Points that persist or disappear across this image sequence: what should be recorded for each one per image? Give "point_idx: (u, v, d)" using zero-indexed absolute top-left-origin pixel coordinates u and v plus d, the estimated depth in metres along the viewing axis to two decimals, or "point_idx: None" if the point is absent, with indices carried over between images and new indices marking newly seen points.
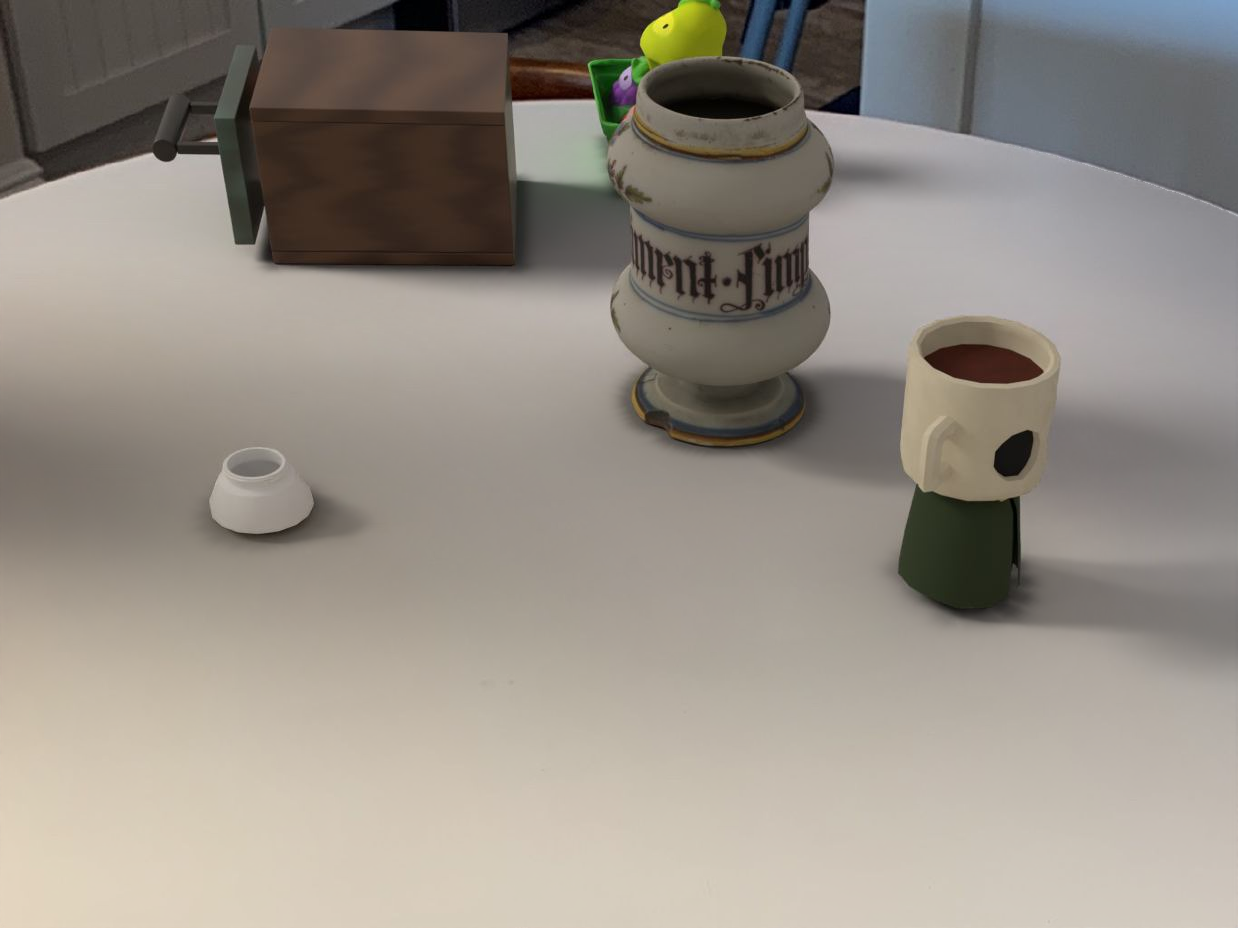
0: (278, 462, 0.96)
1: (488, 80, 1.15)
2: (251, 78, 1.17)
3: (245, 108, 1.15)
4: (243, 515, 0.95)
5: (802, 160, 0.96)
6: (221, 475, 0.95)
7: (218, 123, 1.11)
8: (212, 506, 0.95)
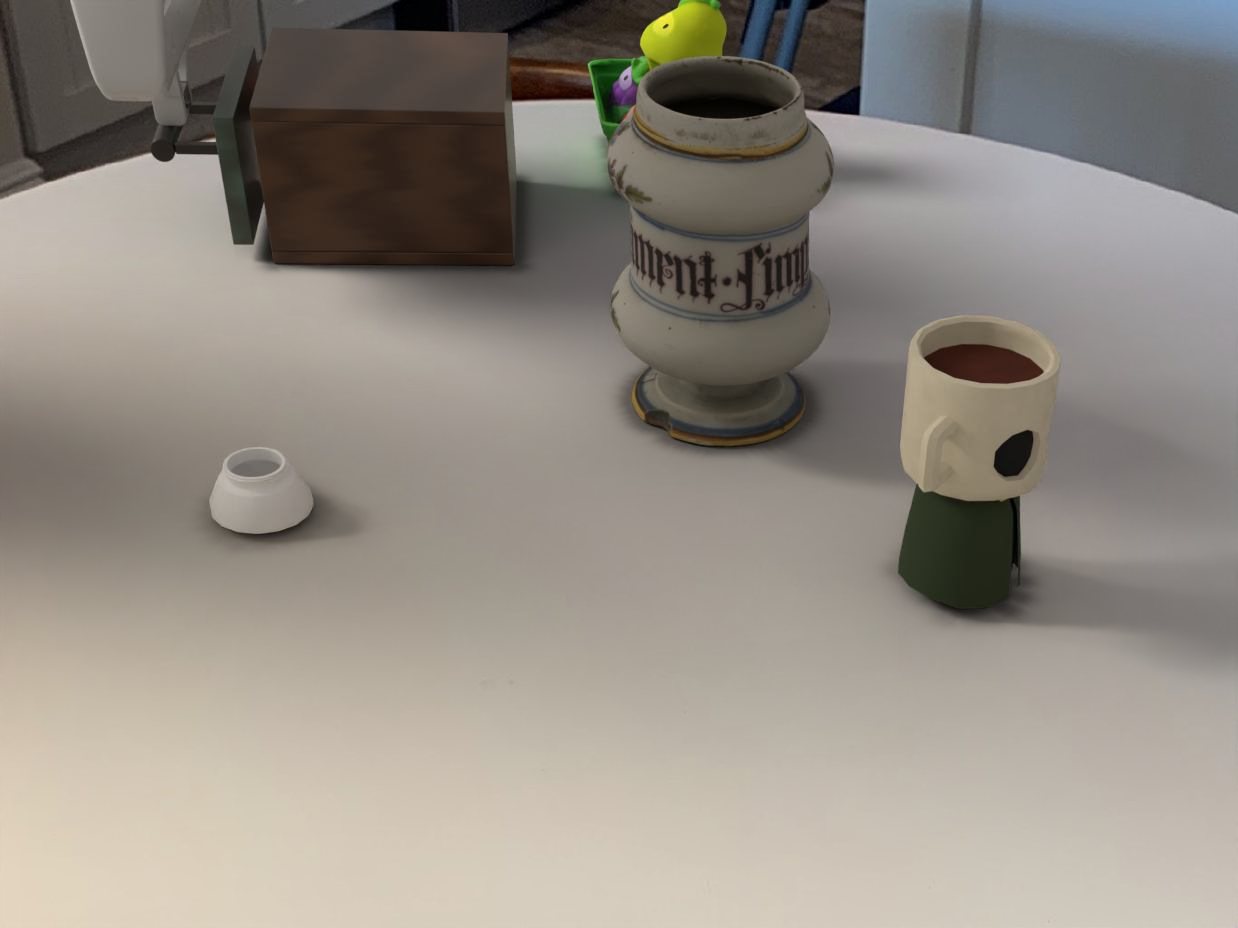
0: (278, 462, 0.96)
1: (488, 80, 1.15)
2: (249, 78, 1.17)
3: (243, 108, 1.15)
4: (243, 515, 0.95)
5: (802, 160, 0.96)
6: (221, 475, 0.95)
7: (216, 123, 1.11)
8: (212, 506, 0.95)
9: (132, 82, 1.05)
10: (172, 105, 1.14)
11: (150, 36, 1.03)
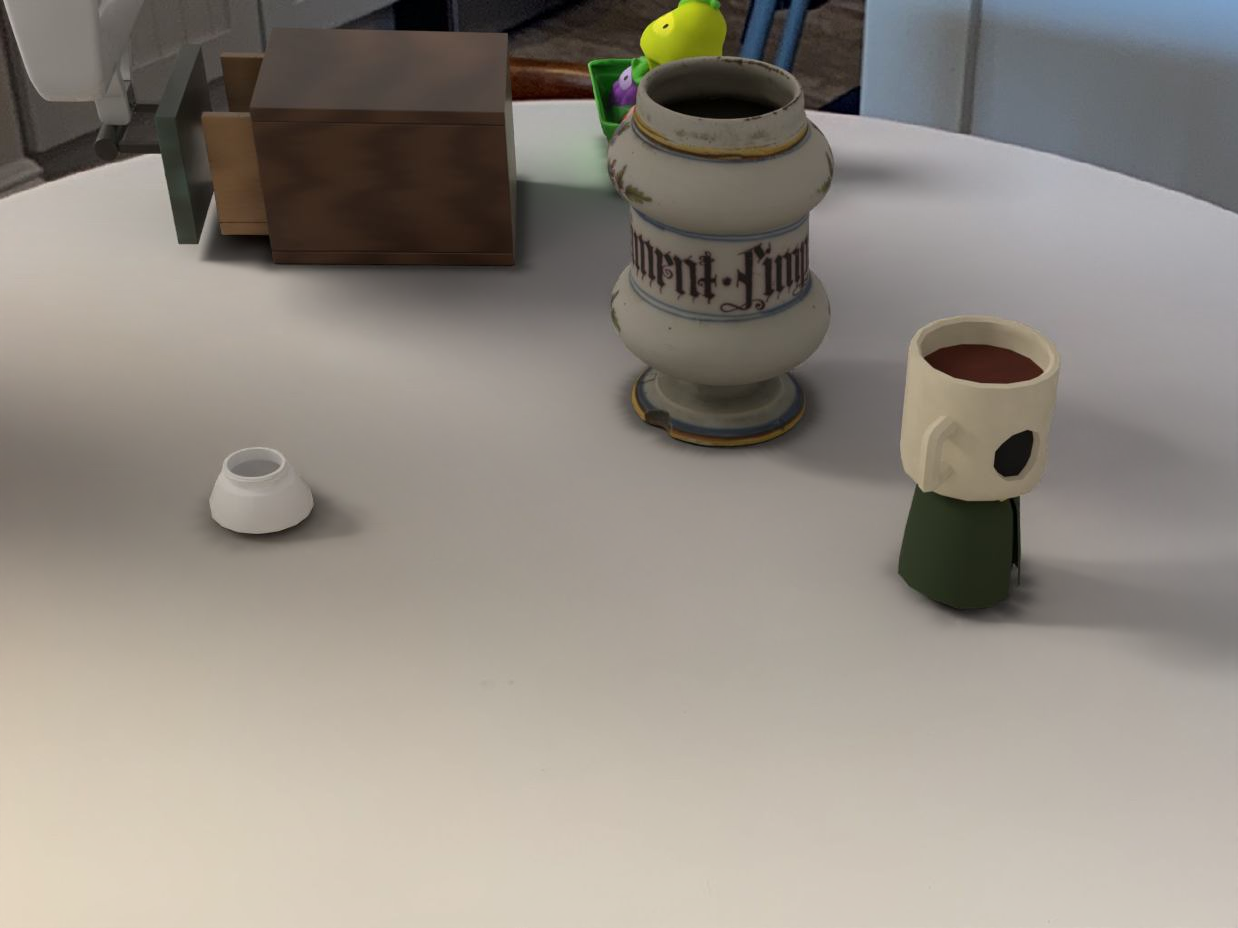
0: (278, 462, 0.96)
1: (488, 80, 1.15)
2: (195, 77, 1.17)
3: (187, 107, 1.14)
4: (243, 515, 0.95)
5: (802, 160, 0.96)
6: (221, 475, 0.95)
7: (158, 122, 1.11)
8: (212, 506, 0.95)
9: (69, 82, 1.04)
10: (115, 104, 1.14)
11: (85, 36, 1.03)
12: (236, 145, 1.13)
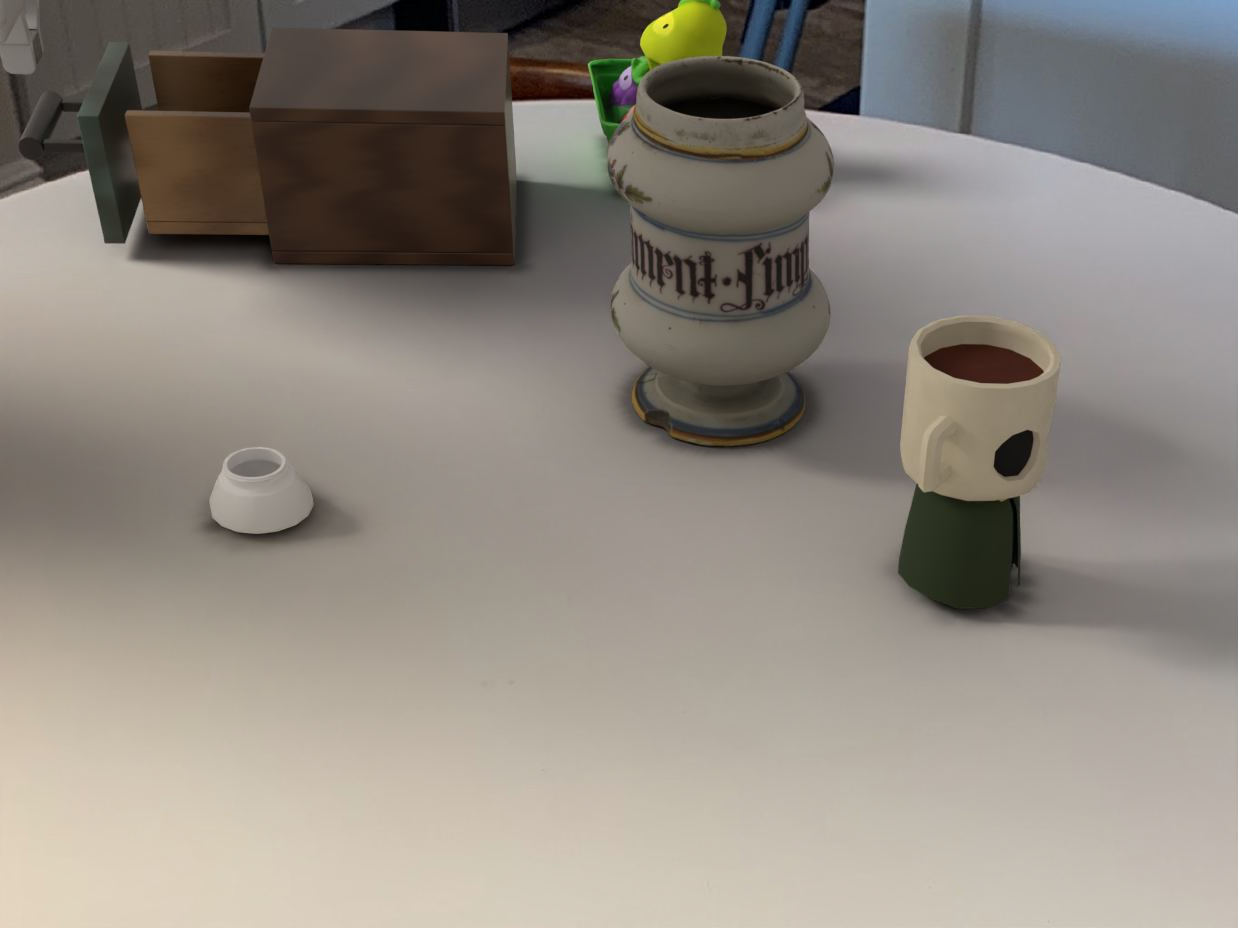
0: (278, 462, 0.96)
1: (488, 80, 1.15)
2: (122, 75, 1.16)
3: (113, 106, 1.14)
4: (243, 515, 0.95)
5: (802, 160, 0.96)
6: (221, 475, 0.95)
7: (81, 121, 1.10)
8: (212, 506, 0.95)
9: None
10: (20, 53, 1.11)
11: None
12: (161, 144, 1.12)
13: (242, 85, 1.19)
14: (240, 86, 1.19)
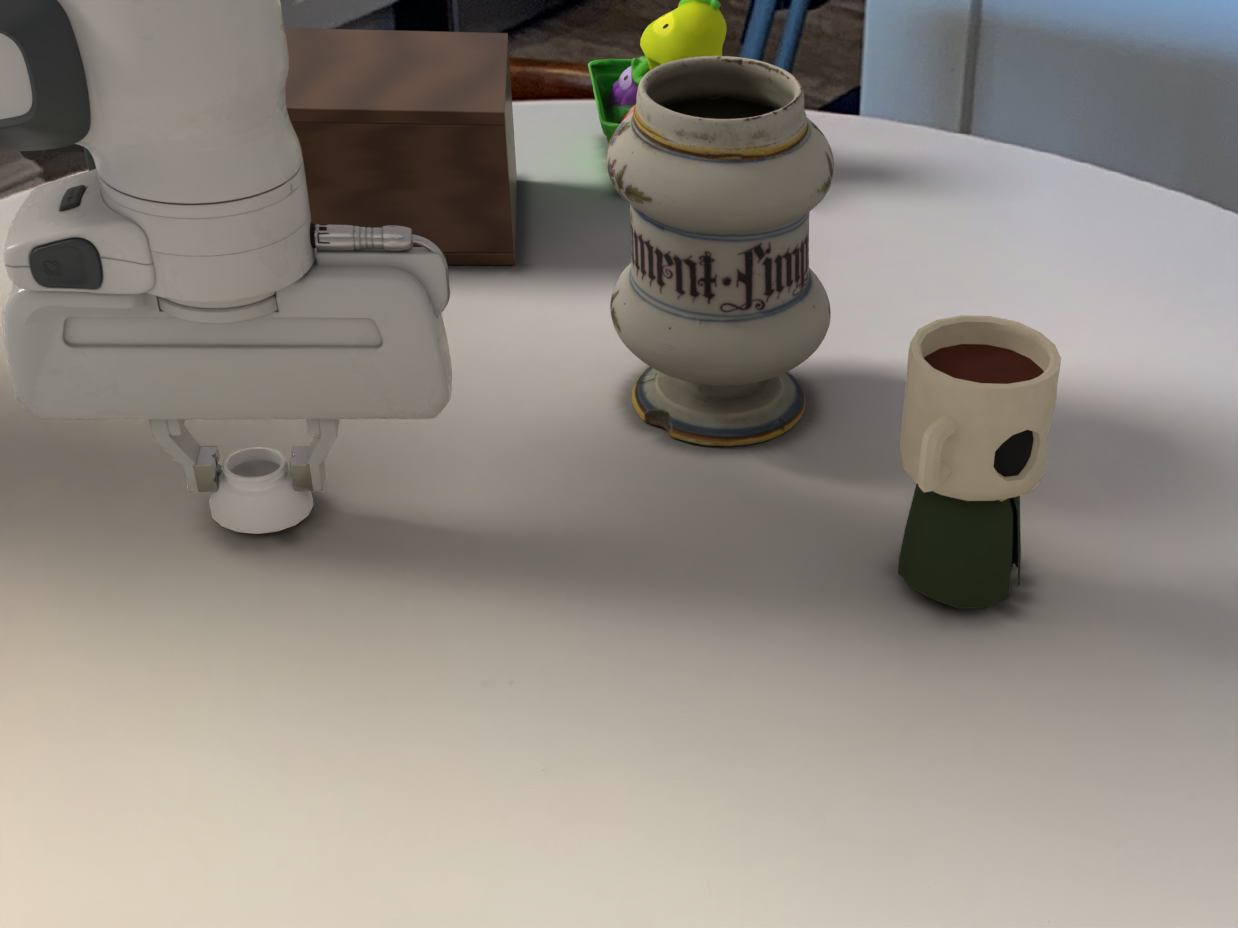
0: (278, 462, 0.96)
1: (488, 80, 1.15)
2: None
3: None
4: (243, 515, 0.95)
5: (802, 160, 0.96)
6: (221, 475, 0.95)
7: None
8: (212, 506, 0.95)
9: None
10: None
11: None
12: None
13: None
14: None
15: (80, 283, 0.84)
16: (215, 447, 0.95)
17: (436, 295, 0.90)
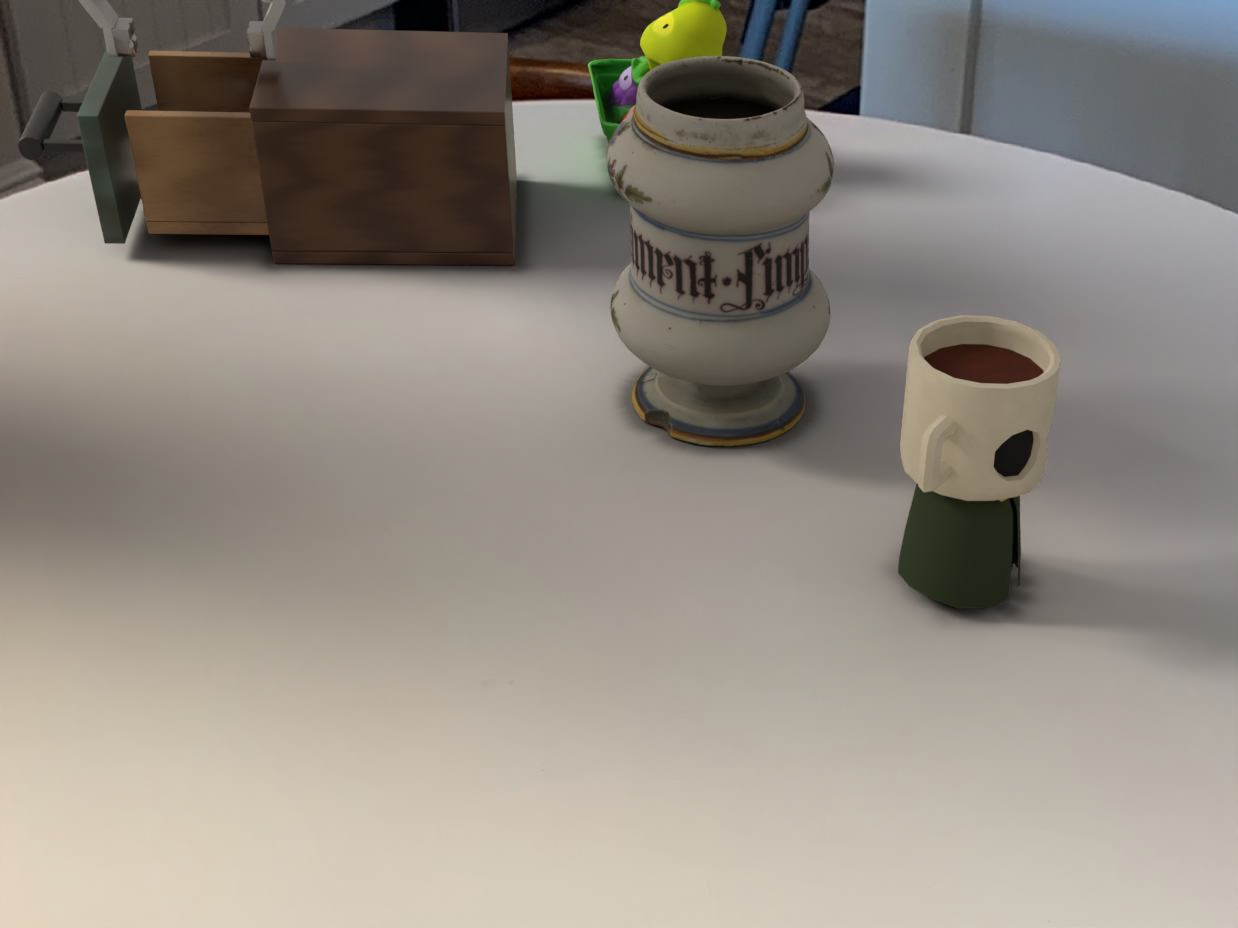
0: None
1: (488, 80, 1.15)
2: (121, 75, 1.16)
3: (113, 106, 1.14)
4: None
5: (802, 160, 0.96)
6: None
7: (81, 121, 1.10)
8: None
9: None
10: None
11: None
12: (160, 144, 1.12)
13: (242, 85, 1.19)
14: (240, 86, 1.19)
15: None
16: (131, 18, 1.13)
17: None
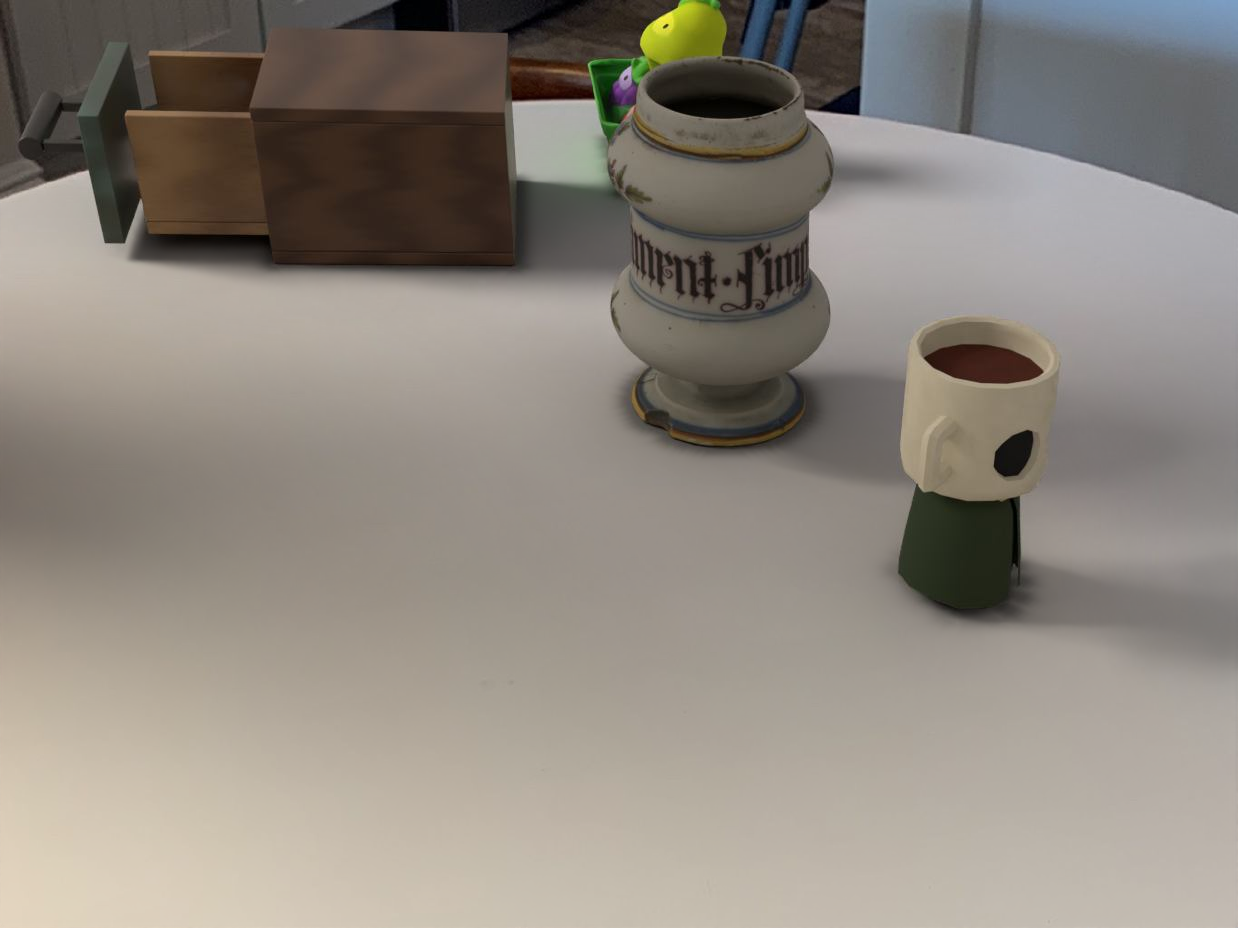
0: None
1: (488, 80, 1.15)
2: (121, 75, 1.16)
3: (113, 106, 1.14)
4: None
5: (802, 160, 0.96)
6: None
7: (81, 121, 1.10)
8: None
9: None
10: None
11: None
12: (160, 144, 1.12)
13: (242, 85, 1.19)
14: (240, 86, 1.19)
15: None
16: None
17: None
